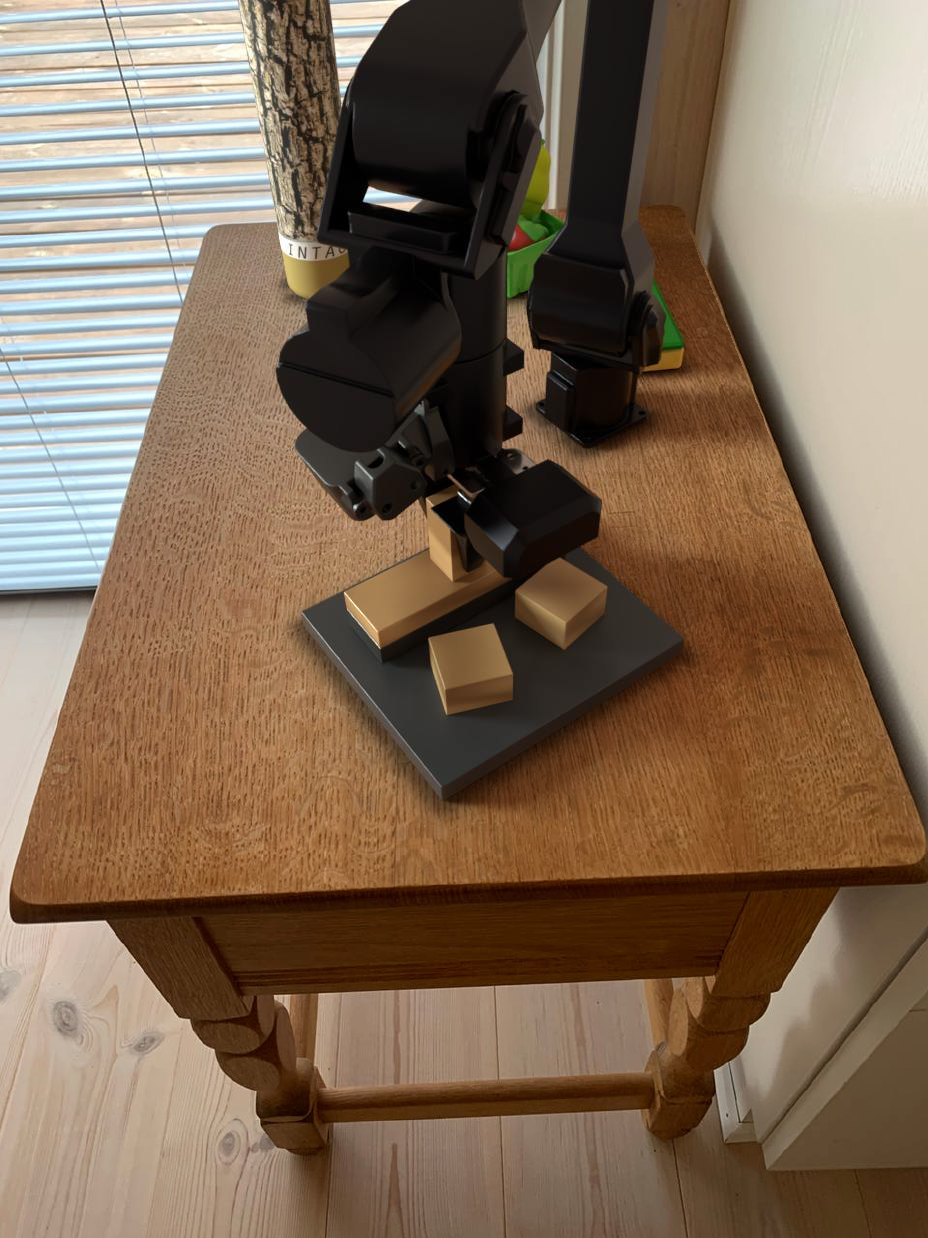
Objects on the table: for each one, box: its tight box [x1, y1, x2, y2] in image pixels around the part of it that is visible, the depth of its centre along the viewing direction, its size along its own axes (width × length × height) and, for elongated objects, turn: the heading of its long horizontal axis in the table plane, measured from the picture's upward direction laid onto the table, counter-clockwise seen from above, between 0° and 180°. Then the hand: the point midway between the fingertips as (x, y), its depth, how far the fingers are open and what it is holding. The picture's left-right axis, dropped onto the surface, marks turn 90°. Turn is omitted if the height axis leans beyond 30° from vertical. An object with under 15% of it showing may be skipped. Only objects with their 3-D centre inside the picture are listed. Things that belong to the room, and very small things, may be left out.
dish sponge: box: [643, 276, 686, 372], centre depth 85 cm, size 7×14×2 cm, turn 7°
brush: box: [344, 484, 566, 664], centre depth 60 cm, size 14×4×8 cm, turn 125°
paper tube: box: [237, 0, 349, 300], centre depth 82 cm, size 7×7×25 cm
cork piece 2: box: [515, 558, 607, 650], centre depth 61 cm, size 4×4×2 cm
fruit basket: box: [507, 138, 565, 298], centre depth 88 cm, size 11×9×11 cm
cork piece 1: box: [428, 624, 513, 715], centre depth 57 cm, size 4×4×2 cm
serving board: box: [300, 546, 685, 802], centre depth 62 cm, size 18×16×2 cm
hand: (459, 555), depth 60 cm, fingers closed on brush, 2 cm apart
